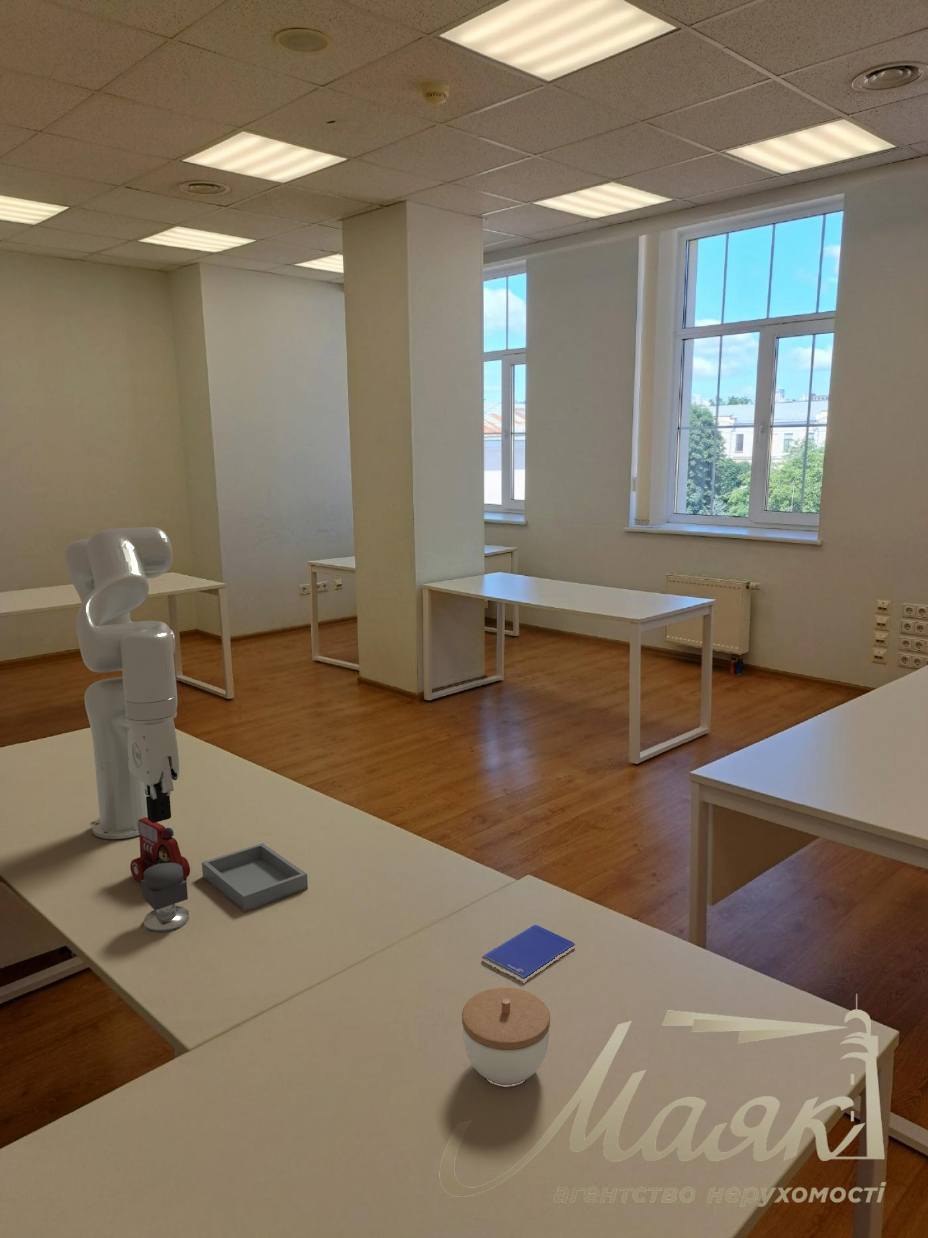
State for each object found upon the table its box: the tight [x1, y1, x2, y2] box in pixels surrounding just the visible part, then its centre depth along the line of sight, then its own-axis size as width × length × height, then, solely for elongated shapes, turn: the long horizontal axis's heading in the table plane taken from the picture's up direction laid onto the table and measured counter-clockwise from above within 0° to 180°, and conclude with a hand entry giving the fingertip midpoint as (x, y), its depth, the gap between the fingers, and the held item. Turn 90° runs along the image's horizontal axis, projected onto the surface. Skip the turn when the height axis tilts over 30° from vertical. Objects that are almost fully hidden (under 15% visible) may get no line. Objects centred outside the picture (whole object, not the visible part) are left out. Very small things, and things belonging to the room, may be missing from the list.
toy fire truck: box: [129, 817, 191, 882], centre depth 154 cm, size 7×12×10 cm, turn 49°
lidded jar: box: [461, 987, 551, 1085], centre depth 104 cm, size 11×11×9 cm
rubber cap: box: [140, 863, 189, 910], centre depth 139 cm, size 6×6×5 cm
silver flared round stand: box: [143, 903, 190, 933], centre depth 140 cm, size 7×7×5 cm
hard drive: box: [481, 924, 576, 979], centre depth 130 cm, size 2×8×12 cm
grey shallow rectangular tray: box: [201, 842, 309, 913], centre depth 153 cm, size 17×12×3 cm
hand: (159, 819), depth 137 cm, fingers closed
